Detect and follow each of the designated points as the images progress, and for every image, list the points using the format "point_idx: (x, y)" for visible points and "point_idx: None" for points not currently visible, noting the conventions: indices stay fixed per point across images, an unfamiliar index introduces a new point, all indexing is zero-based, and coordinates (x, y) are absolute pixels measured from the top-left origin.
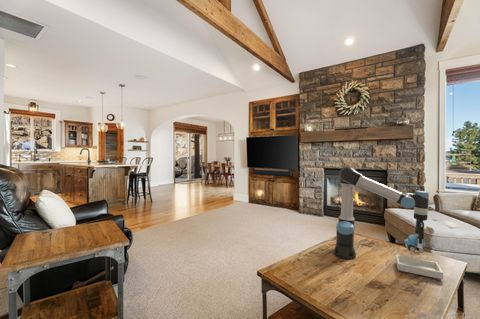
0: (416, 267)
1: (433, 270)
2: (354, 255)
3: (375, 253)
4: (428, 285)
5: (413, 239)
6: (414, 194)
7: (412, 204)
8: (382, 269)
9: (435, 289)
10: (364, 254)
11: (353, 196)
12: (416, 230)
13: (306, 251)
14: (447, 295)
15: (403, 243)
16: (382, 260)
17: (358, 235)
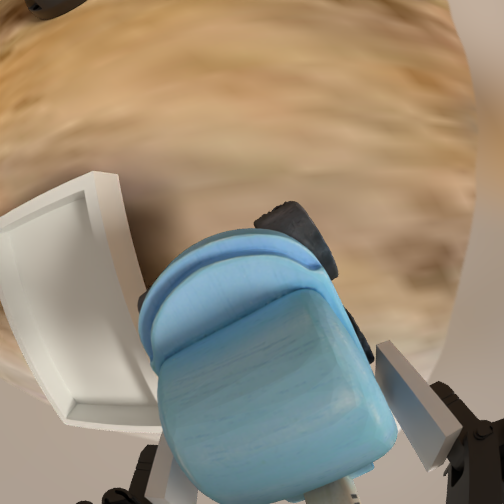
0: (9, 323)
1: (47, 394)
2: (44, 10)
3: (206, 29)
4: (16, 343)
5: (162, 425)
6: None
7: None
8: (5, 153)
9: (14, 360)
10: (139, 3)
11: None
12: (466, 499)
13: None
14: (15, 383)
15: (285, 206)
16: (103, 99)
17: None
